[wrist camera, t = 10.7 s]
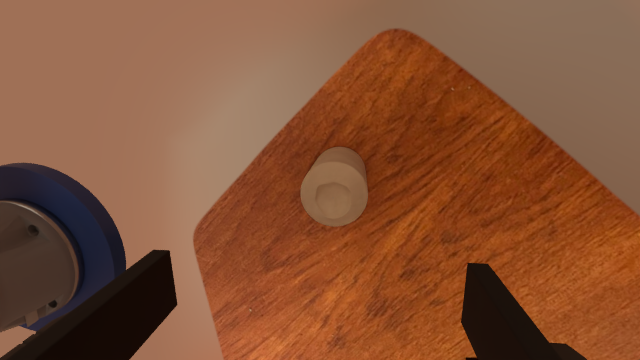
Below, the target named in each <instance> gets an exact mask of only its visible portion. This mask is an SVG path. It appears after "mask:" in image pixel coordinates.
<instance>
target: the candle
mask: <svg viewBox="0 0 640 360" xmlns="http://www.w3.org/2000/svg"><path fill="white" fill-rule="evenodd" d="M367 200H368V189H367V178H366V169H365V165H364V162H363V160H362V159H361V157H360V156H359V155H358V154H357V153H356V152H355V151H353V150H351V149H349V148H346V147H333V148H330V149H328V150H326V151H324V152H323V153H322V154H321V155H320V156H319V157H318V159H317V160H316V162H315V163H314V165H313V166H312V167H311V169H310V170H309V172H308V173H307V175H306V176H305V178H304V180H303V183H302V186H301V201H302V204H303V207H304V209H305V210H306V212H307V213H308V214H309V216H311V217H312V218H313V219H314V220H315V221H317V222H319V223H321V224H323V225H327V226H343V225H346V224H349V223H351V222H353V221H354V220H356V219H357V218H358V217H359V216H360V215H361V214H362V212H363V211H364V209H365V207H366V204H367Z"/></svg>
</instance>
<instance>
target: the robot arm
mask: <svg viewBox="0 0 640 360" xmlns="http://www.w3.org/2000/svg"><path fill="white" fill-rule="evenodd" d="M84 275H85V265H84V259H83V255H82V252H81V249H80V246H79V244H78V242H77V240H76V239H75V237H74V235H73V234H72V232H71V231H70V230H69V228H68V227H67V226H66V225H65V224H64V223H63V222H62V221H61V220H60V219H59V218H58V217H57V216H56V215H55V214H53V213H52V212H51V211H49V210H48V209H46V208H44V207H43V206H41V205H38V204H36V203H34V202H31V201H28V200H24V199H18V198H6V199H1V200H0V332H2V331H5V330H8V329H11V328H14V327H16V326H19V325H22V324H25V323H27V327H29V326H30V325H32V324H33V323H35V322H36V321H38V320H39V318H42V317H45V316H47V315H49V314H51V313H53V312H55V311H57V310H59V309H60V308H62V307H63V306H65V305H66V304H67V303H69V302H70V301H71V300H73V299H74V298H75V297H76V295H77V294H78V293H79V291H80V289H81V287H82V285H83V281H84ZM176 306H177V299H176V292H175V285H174V278H173V271H172V264H171V257H170V251H169V250H153V251H151V252H150V253H149V254H147V255H146V256H144V257H143V258H142V259H141V260H139V261H138V262H137V263H135V264H134V265H133V266H131V267H130V268H129V269H127V270H126V271H124V272H123V273H122V274H120V275H119V276H118V277H116V278H115V279H114V280H112V281H111V282H110V283H108V284H107V285H106V286H104V287H103V288H101V289H100V290H99V291H97V292H96V293H95V294H93V295H92V296H91V297H89V298H88V299H87V300H85V301H84V302H83V303H81V304H80V305H79V306H77V307H76V308H75V309H73V310H72V311H70V312H68V313H66V314H64V315H62V316H60V317H58V318H56V319H54V320H52V321H50V322H49V323H48V324H46V325H45V326H44V327H42V328H41V329H39V330H38V331H37V332H36V334H33V335H31V336H30V337H29V338H27V339H26V340H24V341H23V343H22V344H19V345H18V346H16V347H15V348H14V349H12V350H11V351H9V352H8V353H7V354H5V355H4V356H2V357H1V358H0V360H129V359H130V358H131V357H132V356H133V355H134V354H135V353H136V351H137V350H138V349H139V348H140V347H141V346H142V345H143V343H144V342H145V341H146V340H147V339H148V338H149V336H150V335H151V334H152V333H153V332H154V331H155V330H156V329H157V327H158V326H159V325H160V324H161V323H162V322H163V321H164V319H165V318H166V317H167V316H168V315H169V313H170V312H171V311H172V310H173V309H174V308H175V307H176ZM461 323H462V325H463V328H464V330H465V332H466V334H467V336H468V339H469V341H470V343H471V345H472V347H473V350H474V352H475V354H476V356H477V358H478V360H587V359H586V358H585V357H583V356H582V355H581V354H579V353H578V352H577V351H575V350H574V349H572V348H571V347H570V346H568V345H567V344H560V343H549V342H548V341H547V339H546V338H545V337H544V335H543V334H542V333H541V332H540V330H539V329H538V328H537V326H536V325H535V324H534V323H533V321H532V320H531V319H530V317H529V316H528V315H527V314H526V312H525V311H524V310H523V308H522V307H521V306H520V305H519V303H518V302H517V301H516V299H515V298H514V297H513V296H512V294H511V293H510V292H509V290H508V289H507V288H506V287H505V285H504V284H503V283H502V281H501V280H500V279H499V277H498V276H497V275H496V274H495V272H494V271H493V270H492V268H491V267H490V266H489V265H488V264H478V263H468V265H467V274H466V283H465V292H464V301H463V310H462V319H461Z"/></svg>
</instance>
